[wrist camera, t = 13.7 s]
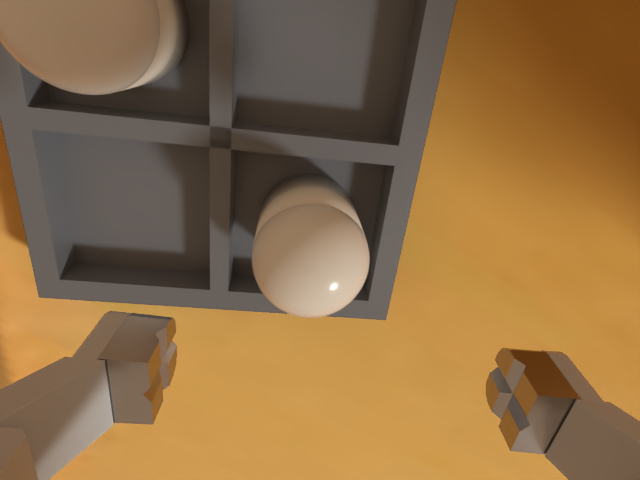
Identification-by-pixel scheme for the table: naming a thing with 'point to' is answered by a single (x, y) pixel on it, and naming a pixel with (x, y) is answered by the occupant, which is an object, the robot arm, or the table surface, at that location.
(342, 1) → the carton
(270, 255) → the egg
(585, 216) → the table surface
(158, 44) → the resting egg
